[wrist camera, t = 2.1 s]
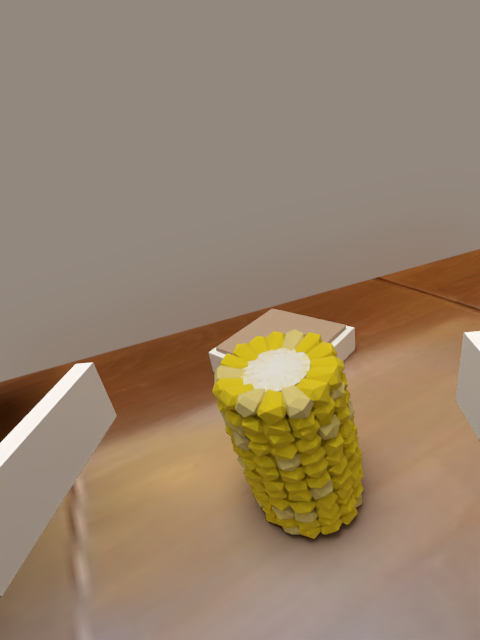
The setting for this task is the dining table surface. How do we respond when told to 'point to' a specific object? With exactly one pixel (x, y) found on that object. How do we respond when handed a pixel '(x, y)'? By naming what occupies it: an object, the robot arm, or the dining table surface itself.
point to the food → (293, 430)
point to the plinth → (284, 323)
